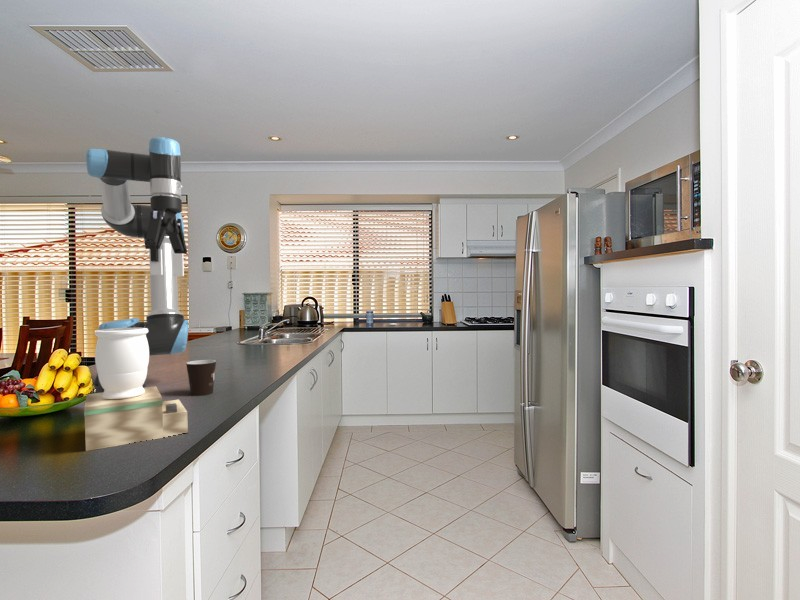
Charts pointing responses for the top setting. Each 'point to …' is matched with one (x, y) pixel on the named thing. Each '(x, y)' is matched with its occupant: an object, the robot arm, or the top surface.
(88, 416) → the step stand
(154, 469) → the top surface
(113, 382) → the jar
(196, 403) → the top surface
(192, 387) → the coffee mug
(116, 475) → the top surface
